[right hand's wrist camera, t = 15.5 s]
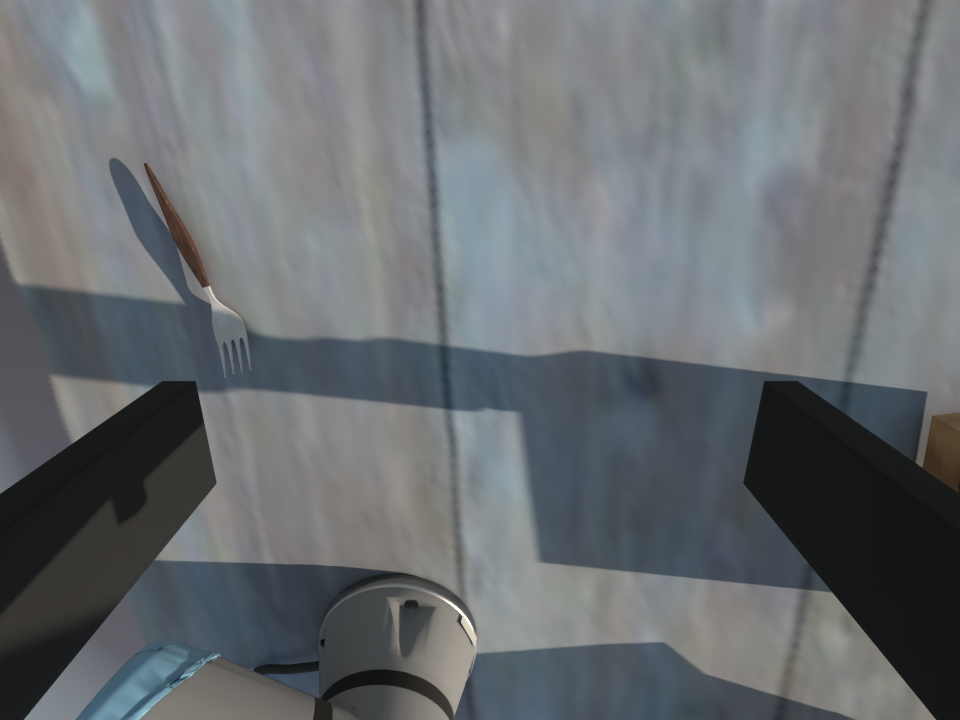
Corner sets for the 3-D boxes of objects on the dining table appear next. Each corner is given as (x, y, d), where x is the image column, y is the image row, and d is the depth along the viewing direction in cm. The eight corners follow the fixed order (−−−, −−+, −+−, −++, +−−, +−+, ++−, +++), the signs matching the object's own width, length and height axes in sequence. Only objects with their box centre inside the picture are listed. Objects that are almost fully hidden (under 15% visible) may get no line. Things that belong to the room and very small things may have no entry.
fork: (166, 157, 37) (149, 157, 35) (263, 361, 42) (253, 370, 41) (133, 168, 37) (114, 169, 35) (233, 370, 43) (222, 379, 41)
